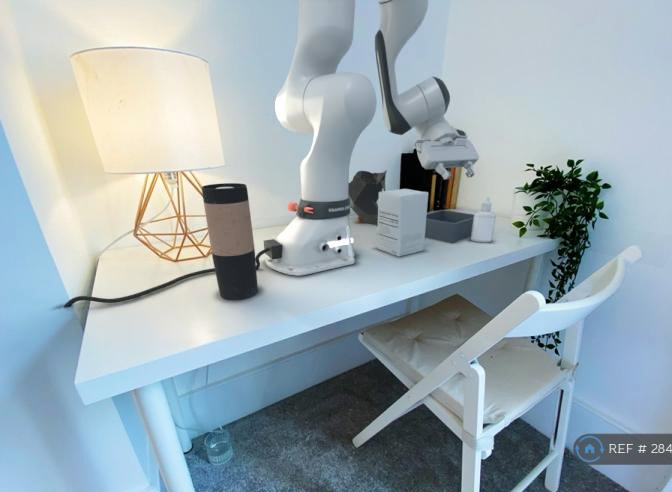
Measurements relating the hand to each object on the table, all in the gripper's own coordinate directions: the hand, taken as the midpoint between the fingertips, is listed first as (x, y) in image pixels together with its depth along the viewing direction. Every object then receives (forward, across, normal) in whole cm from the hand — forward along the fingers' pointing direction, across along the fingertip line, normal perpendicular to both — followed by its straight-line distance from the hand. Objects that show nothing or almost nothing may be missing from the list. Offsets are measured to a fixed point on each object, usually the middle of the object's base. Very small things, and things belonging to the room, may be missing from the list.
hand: (460, 177), depth 98 cm
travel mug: (+20, -69, +4) cm, 72 cm away
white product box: (+16, -25, +8) cm, 30 cm away
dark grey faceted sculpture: (-6, -14, +30) cm, 33 cm away
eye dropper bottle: (+19, 0, +4) cm, 20 cm away
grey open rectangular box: (+12, -3, +12) cm, 17 cm away
